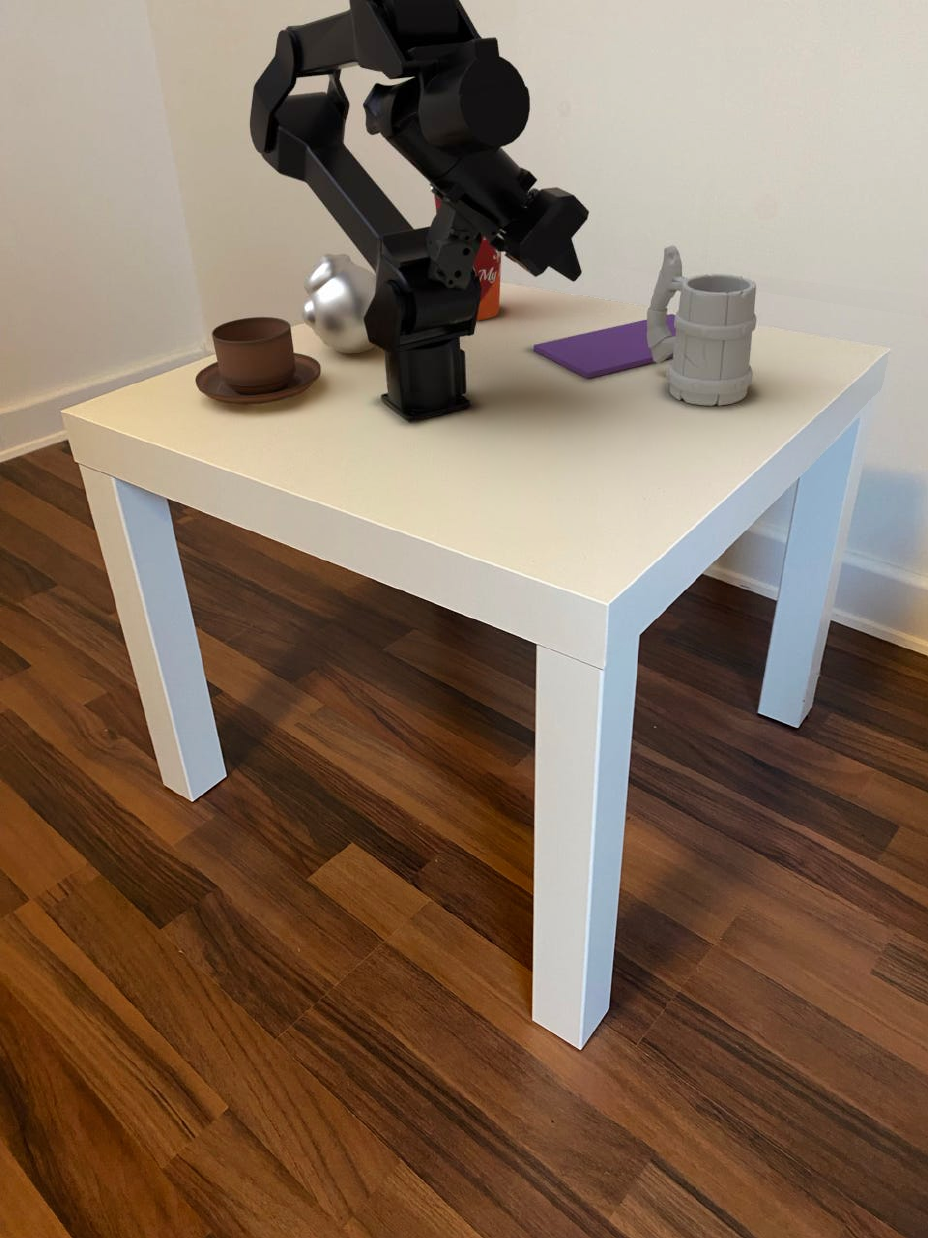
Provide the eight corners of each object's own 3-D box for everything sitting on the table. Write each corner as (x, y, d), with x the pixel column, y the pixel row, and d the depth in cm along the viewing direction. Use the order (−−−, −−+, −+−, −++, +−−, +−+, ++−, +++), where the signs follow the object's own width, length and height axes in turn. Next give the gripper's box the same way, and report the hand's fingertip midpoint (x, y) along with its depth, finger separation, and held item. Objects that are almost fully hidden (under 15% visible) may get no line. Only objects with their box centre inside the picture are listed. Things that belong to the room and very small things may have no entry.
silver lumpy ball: (345, 331, 110) (335, 238, 104) (412, 345, 105) (405, 248, 99) (289, 356, 104) (275, 258, 98) (357, 371, 99) (346, 270, 93)
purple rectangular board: (587, 378, 95) (587, 372, 94) (533, 350, 102) (533, 344, 102) (732, 343, 101) (732, 337, 101) (671, 318, 109) (671, 313, 108)
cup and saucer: (178, 390, 96) (165, 328, 93) (285, 361, 102) (276, 301, 99) (233, 426, 88) (221, 360, 85) (346, 392, 94) (339, 328, 91)
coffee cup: (509, 322, 110) (507, 178, 101) (436, 325, 110) (428, 182, 102) (507, 300, 117) (505, 164, 108) (439, 303, 117) (431, 167, 109)
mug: (711, 414, 86) (726, 275, 79) (617, 379, 94) (624, 249, 87) (768, 392, 90) (787, 257, 83) (673, 360, 98) (683, 234, 91)
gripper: (361, 211, 86) (482, 319, 95) (419, 262, 72) (556, 384, 80) (442, 104, 84) (558, 225, 93) (519, 134, 69) (649, 274, 78)
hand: (576, 276), depth 86 cm, fingers closed
